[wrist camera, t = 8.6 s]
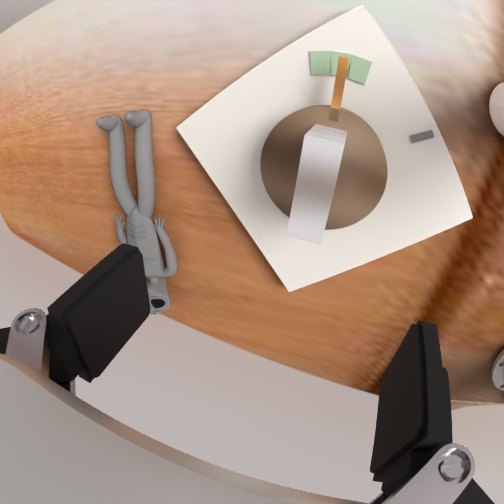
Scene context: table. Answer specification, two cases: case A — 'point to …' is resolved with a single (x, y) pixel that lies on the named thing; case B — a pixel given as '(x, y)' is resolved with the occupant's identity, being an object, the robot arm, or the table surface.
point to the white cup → (497, 107)
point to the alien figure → (140, 203)
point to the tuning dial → (324, 167)
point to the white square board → (355, 100)
